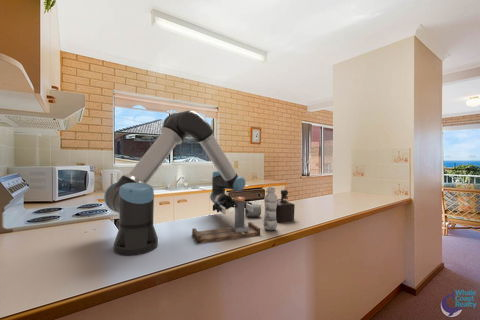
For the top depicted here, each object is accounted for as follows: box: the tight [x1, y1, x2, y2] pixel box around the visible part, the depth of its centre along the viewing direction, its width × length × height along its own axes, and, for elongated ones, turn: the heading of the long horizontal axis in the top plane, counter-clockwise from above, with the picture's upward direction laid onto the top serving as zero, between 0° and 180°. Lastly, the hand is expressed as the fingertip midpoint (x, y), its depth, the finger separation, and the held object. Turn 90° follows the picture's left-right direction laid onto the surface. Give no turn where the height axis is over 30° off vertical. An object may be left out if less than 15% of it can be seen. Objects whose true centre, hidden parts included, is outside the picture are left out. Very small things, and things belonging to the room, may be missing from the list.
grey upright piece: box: [229, 196, 249, 233], centre depth 102 cm, size 6×7×15 cm
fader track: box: [191, 221, 261, 245], centre depth 100 cm, size 28×10×3 cm, turn 114°
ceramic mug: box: [244, 203, 262, 218], centre depth 134 cm, size 11×8×8 cm
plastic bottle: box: [262, 187, 279, 231], centre depth 109 cm, size 6×7×20 cm
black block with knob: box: [276, 189, 296, 223], centre depth 125 cm, size 16×11×18 cm
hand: (239, 210), depth 104 cm, fingers open, 13 cm apart
